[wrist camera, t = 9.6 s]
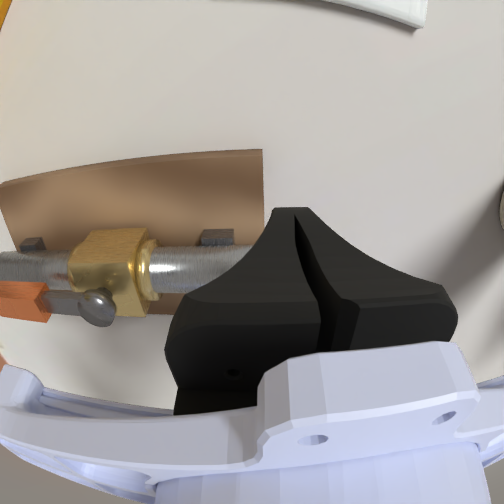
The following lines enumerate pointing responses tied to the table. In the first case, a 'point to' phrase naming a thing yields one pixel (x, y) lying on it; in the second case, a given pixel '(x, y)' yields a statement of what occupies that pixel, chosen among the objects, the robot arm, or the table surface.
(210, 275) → the valve pipe
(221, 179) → the base board
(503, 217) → the travel mug
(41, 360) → the table surface
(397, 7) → the external hard drive
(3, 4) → the packaging box
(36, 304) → the valve lever
